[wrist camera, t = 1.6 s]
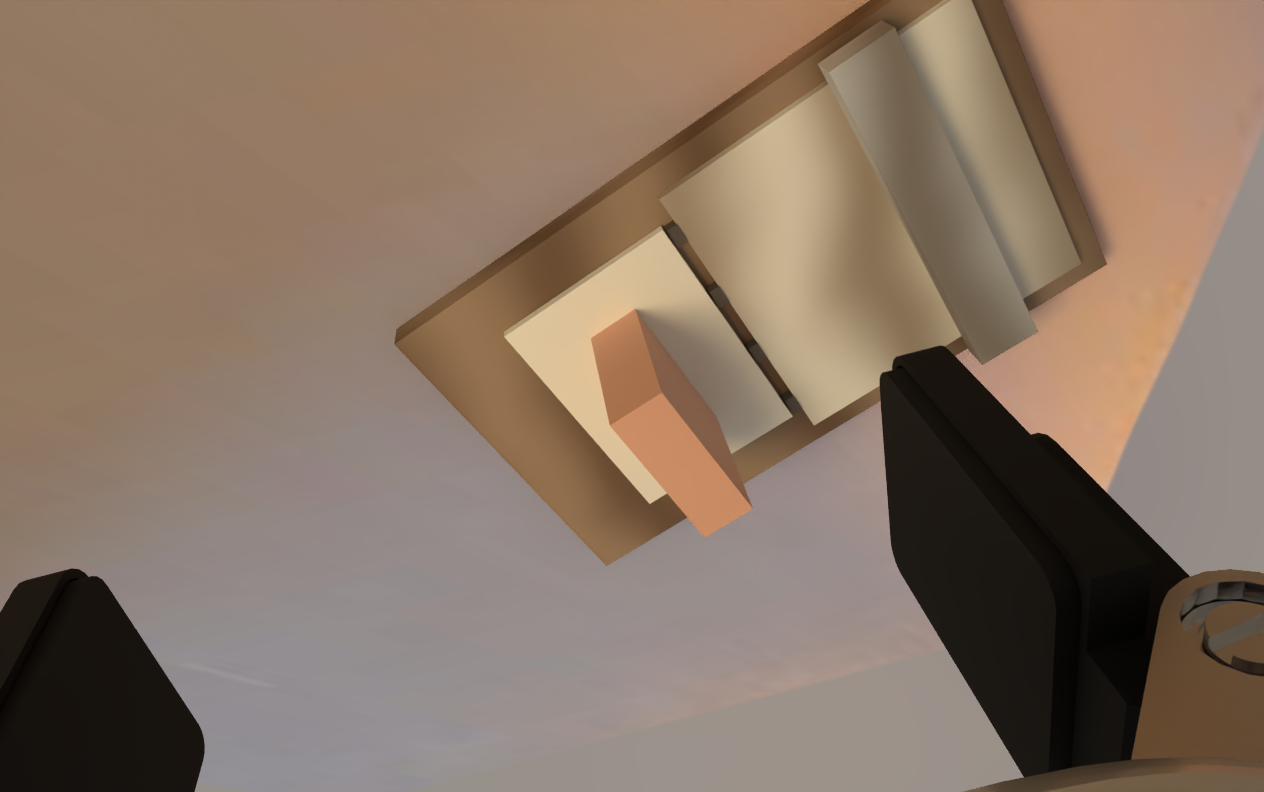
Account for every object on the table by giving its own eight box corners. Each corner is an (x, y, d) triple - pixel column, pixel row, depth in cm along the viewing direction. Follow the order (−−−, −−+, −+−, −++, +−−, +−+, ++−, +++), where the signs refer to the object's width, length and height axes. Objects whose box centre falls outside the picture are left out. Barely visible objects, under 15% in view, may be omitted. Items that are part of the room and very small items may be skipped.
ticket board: (961, -64, 32) (1000, -54, 29) (1090, 252, 39) (1130, 281, 36) (396, 329, 36) (391, 365, 34) (603, 548, 43) (610, 591, 41)
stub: (660, 225, 34) (695, 303, 29) (790, 411, 39) (840, 507, 34) (503, 331, 36) (509, 425, 30) (648, 498, 41) (674, 604, 35)
